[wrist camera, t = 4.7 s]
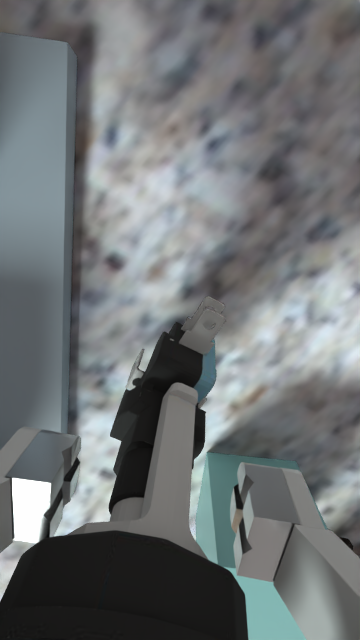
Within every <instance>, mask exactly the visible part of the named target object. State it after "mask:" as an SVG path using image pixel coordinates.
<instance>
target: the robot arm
mask: <svg viewBox="0 0 360 640" xmlns="http://www.w3.org/2000/svg"><path fill="white" fill-rule="evenodd" d="M80 449H81V438H80V437H79V436H76V435H71V434H65V433H60V432H54V431H49V430H44V429H43V430H41V429H36V428H31V427H25V426H24V427H22V428H20V429H19V430H18V431H17V432H16V433H15V434H14V435H13V436H12V438H11V439H10V440H9V441H8V442H7V443H6V444H5V446H4V447H3V448H2V449H1V450H0V553H1V552H2V551H3V550H4V549H5V548H7V547H8V546H9V545H10V544H11V543H12V542H13V540H18V541H25V542H33V543H38V542H39V541H41V540H42V539H44V538H48V537H54V534H55V532H56V530H57V528H58V526H59V524H60V521H61V519H62V511H63V506H64V505H65V504H67V503H68V502H70V500H71V497H72V495H73V493H74V490H75V487H76V484H77V481H78V476H79V471H80V461H79V460H78V458H77V455H78V453H79V451H80ZM237 477H238V484H237V485H235V486H234V487H233V492H232V496H231V505H230V519H231V528H232V529H233V531H234V532H235V533H236V537H235V541H234V545H233V548H234V557H235V565H236V574H237V575H238V576H243V577H248V578H253V579H258V580H263V581H268V582H273V585H274V587H275V589H276V590H277V592H278V594H279V595H280V597H281V599H282V600H283V602H284V603H285V605H286V607H287V608H288V610H289V612H290V613H291V615H292V616H293V618H294V620H295V621H296V623H297V625H298V626H299V628H300V630H301V631H302V633H303V634H304V636H305V638H306V639H307V640H360V558H359V557H358V556H357V555H356V554H355V553H354V552H353V551H352V550H351V549H350V548H349V547H348V546H347V545H346V544H345V543H344V542H343V541H342V540H341V539H340V538H339V537H338V536H337V535H336V534H335V533H334V532H333V531H332V530H326V529H325V528H324V525H323V523H322V520H321V518H320V516H319V513H318V511H317V509H316V506H315V504H314V501H313V499H312V497H311V494H310V492H309V489H308V487H307V485H306V482H305V480H304V478H303V475H302V473H301V472H300V471H299V470H294V469H287V468H277V467H271V466H264V465H258V464H251V463H244V462H241V463H240V465H239V468H238V472H237Z"/></svg>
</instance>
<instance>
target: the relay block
mask: <svg viewBox="0 0 360 640" xmlns="http://www.w3.org/2000/svg"><path fill="white" fill-rule="evenodd" d="M241 462H244V463H251V464H258V465H264V466H271V467H277V468H287V469H294V470H299V471H300V469H299V467H298V465H297V463H296V461H288V460H278V459H269V458H259V457H249V456H240V455H230V454H221V453H211V452H207V455H206V461H205V467H204V472H203V478H202V484H201V490H200V496H199V502H198V508H197V514H196V520H195V521H196V542H197V543H198V544H199V546H200V547H201V549H202V550H203V552H204V553H205V555H206V556H207V558H208V559H209V560H210V561H212V562H214V563H216V564H218V565H220V566H222V567H224V568H226V569H228V570H229V571H230V572H231V573H232V574H233V576H234V577H235V579H236V580H237V582H238V584H239V585H240V587H241V588H242V590H243V592H244V594H245V599H246V612H247V625H248V639H249V640H307V639H306V638H305V636H304V634H303V633H302V631H301V630H300V628H299V626H298V625H297V623H296V621H295V620H294V618H293V616H292V615H291V613H290V612H289V610H288V608H287V607H286V605H285V603H284V602H283V600H282V599H281V597H280V595H279V594H278V592H277V590H276V589H275V587H274V585H273V582H268V581H263V580H258V579H253V578H248V577H243V576H238V575H237V574H236V565H235V557H234V548H233V545H234V541H235V537H236V533H235V532H234V531H233V529H232V528H231V519H230V505H231V496H232V492H233V487H234V486H235V485H237V484H238V477H237V472H238V468H239V465H240V463H241ZM300 472H301V471H300ZM306 485H307V484H306ZM307 487H308V486H307ZM308 489H309V488H308ZM309 492H310V490H309ZM310 494H311V493H310ZM311 497H312V495H311ZM312 499H313V497H312ZM313 501H314V499H313ZM314 504H315V506H316V509H317V511H318V513H319V516H320V518H321V520H322V523H323V525H324V528H325V529H326V530H328V529H327V527H326V525H325V522H324V520H323V518H322V516H321V514H320V512H319V510H318V507H317V505H316V503H315V501H314Z"/></svg>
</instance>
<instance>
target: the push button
mask: <svg viewBox="0 0 360 640" xmlns="http://www.w3.org/2000/svg"><path fill="white" fill-rule="evenodd" d="M206 307H212V308H214V310H215V311H213V310H211V309H209V308H208V309H205V308H206ZM224 308H225V306H224V304H223V303H221V302H219V301H217V300H215V299H213V298H211V297H209V296H207V297H205V298H204V300H203V302H202V303H201V305H200V306H199V308H198V310H197V311H196V313H195V314H194V316H193V318H190V317H188V318H187V320H186V321H185V323H184V324H183V325H182V324H180V323H178V322H176V323H175V324H174V326H173V327H172V329H171V331H170V332H169V334H168V333H166V332H163V334H162V335H161V337H160V339H159V340H158V342H157V344H156V347H155V349H154V352H153V354H152V357H151V359H150V362H149V364H148V367H147V369H146V371H145V372H144V371H141V370H139V368H138V367H139V365H140V362H141V359H142V356H143V353H144V349H142V350H141V352H140V353H139V355H138V357H137V359H136V361H135V363H134V365H133V367H132V370H131V373H130V376H129V379H128V383H127V385H126V390H125V393H124V395H123V398H122V401H121V404H120V406H119V409H118V412H117V415H116V418H115V421H114V424H113V427H112V430H111V433H110V437H113V438H115V439H118V440H120V441H122V442H121V445H120V448H119V452H118V455H117V458H116V462H115V465H114V469H113V470H114V472H115V474H116V475H117V478H116V481H115V485H114V488H113V492H112V496H111V499H110V503H109V512H110V514H111V517H110V521H109V522H97V523H86V524H85V525H83V526H81V527H80V528H78V529H76V530H74V531H73V532H71V533H69V534H68V535H65V536H56V537H48V538H44V539H42V540H41V541H39V542H38V543H37V544H35V545H34V546H33V547H31V548H30V549H29V550H27V551H26V552H25V553H24V554H23V555H22V556H21V558H20V560H19V562H18V564H17V566H16V569H15V571H14V573H13V575H12V577H11V580H10V582H9V584H8V586H7V588H6V590H5V593H4V595H3V597H2V599H1V601H0V640H249V639H248V625H247V612H246V599H245V594H244V592H243V590H242V588H241V587H240V585H239V584H238V582H237V580H236V579H235V577H234V576H233V574H232V573H231V572H230V571H229V570H228V569H226V568H224V567H222V566H220V565H218V564H216V563H214V562H212V561H210V560H209V559H208V558H207V556H206V555H205V553H204V552H203V550H202V549H201V547H200V546H199V544H198V543H197V542H196V541H195V540H194V538H193V536H192V534H191V531H190V528H189V508H190V491H191V474H192V469H193V466H194V459H195V458H196V457H197V456H198V455H199V454H200V453H201V451H202V449H203V447H204V443H205V413H206V412H205V411H203V410H201V409H200V408H201V407H202V406H203V404H204V403H205V402H206V400H207V398H205V397H206V396H207V394H208V393H209V392H210V390H211V389H212V388H213V386H214V384H215V381H216V369H215V341H214V340H213V338H214V337H215V335H216V334H217V333H218V331H219V330H220V328H221V327H222V326H223V324H224V323H225V321H226V319H225V316H223V315H221V313H222V311H223V310H224ZM204 309H205V310H204ZM214 323H215V327H213V328H211V327H212V326H213V324H214Z"/></svg>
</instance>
